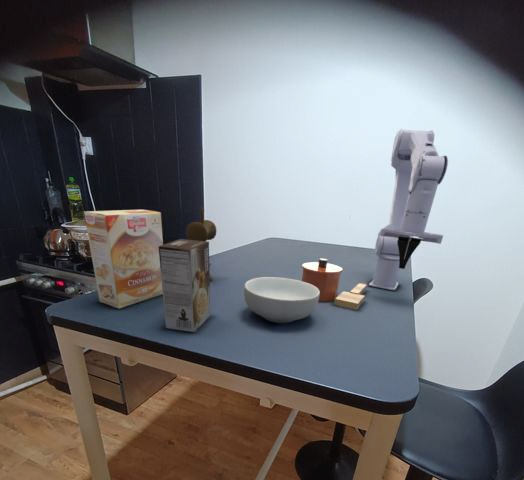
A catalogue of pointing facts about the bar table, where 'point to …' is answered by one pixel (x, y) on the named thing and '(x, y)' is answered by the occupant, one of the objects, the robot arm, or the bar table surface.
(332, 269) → the pot lid
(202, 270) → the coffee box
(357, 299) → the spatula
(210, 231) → the kendama
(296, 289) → the cereal bowl
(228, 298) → the bar table surface
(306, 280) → the pot
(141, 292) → the coffeecake box
